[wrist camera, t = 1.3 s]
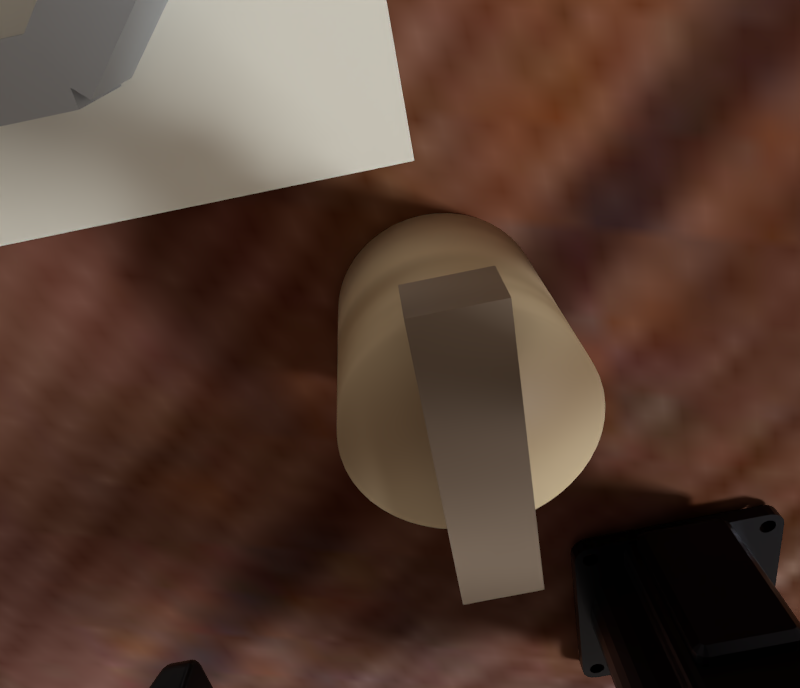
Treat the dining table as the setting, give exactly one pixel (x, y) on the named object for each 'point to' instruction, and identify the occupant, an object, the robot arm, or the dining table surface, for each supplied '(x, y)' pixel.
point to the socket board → (186, 104)
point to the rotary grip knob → (462, 393)
